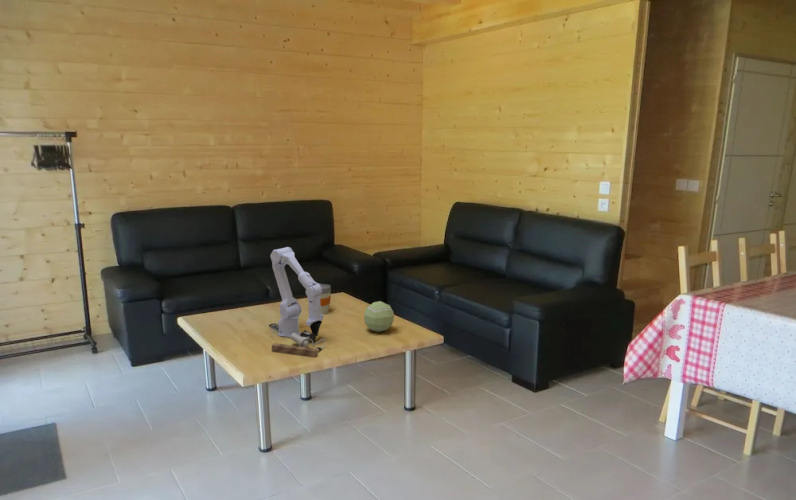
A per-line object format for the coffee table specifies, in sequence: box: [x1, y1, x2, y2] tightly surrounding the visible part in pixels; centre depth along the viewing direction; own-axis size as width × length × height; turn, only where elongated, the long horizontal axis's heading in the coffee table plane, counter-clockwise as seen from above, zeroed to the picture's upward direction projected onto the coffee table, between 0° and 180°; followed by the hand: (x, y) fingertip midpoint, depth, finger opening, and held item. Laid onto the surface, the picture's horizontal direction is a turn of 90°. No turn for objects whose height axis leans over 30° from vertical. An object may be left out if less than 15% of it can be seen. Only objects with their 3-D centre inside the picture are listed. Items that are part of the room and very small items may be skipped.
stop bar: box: [271, 342, 318, 358], centre depth 264 cm, size 22×3×3 cm, turn 71°
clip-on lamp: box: [290, 329, 327, 351], centre depth 273 cm, size 12×6×18 cm
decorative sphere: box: [363, 300, 395, 333], centre depth 295 cm, size 15×15×15 cm
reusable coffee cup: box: [319, 283, 332, 315], centre depth 326 cm, size 13×12×15 cm
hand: (315, 335), depth 281 cm, fingers closed
